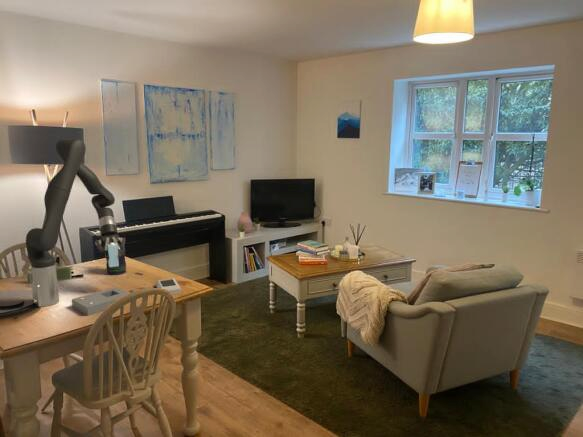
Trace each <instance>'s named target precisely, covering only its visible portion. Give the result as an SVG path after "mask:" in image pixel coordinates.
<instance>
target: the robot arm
mask: <svg viewBox="0 0 583 437" xmlns="http://www.w3.org/2000/svg"><path fill="white" fill-rule="evenodd" d="M55 150H56V153H57V155H58V156H59V157H60V159H62V161H64V163H63V165H62V167H61V169H59V171H58V172H57V173H56V174H55V175H54V176H53V177H52V178H51V179H50V181H49V183H48V184H47V187H46V191H45V194H44V199H43V200H44V208H45V214H46V215H45V220H44V224H43V226H42V228H40V227H34V228H32V229H30V230H28V232H27V233H26V236H25V246H26V252H27V259H28V261H29V263H30V264H31V265H30V266H31V270H32V276H33V283H31V291H32V299H33V298H34V299H35V300H37V302H38V306H39V307H38V306H37V307H38V308H40V307H47V306H48V307H49V306H53V305H55V304H58V303H59V302H60V296H59V286H58V281H57V273H56V268H57V263H56V262H57V261H56V258H55V256H53V255H52V254H51V253H50V252H49V251H51V250H54V249H55V247H56V245H57V243H58V239H59V236H60V231H61V225H62V222H63V221H62V220H63V218H64V214H65V210H66V207H67V204H68V201H69V199H70V197H71V196H70V195H71V192H72V188H73V185H74V182H75V179H76V177H78V178H79V180H80V181H81V182H82V184H83V186H84V188H85V189H86V190H87V192H88V193H89V194H90V195H93V196H92V198H91V200H90V201H91V204H92V206H93V208H94V209H95V211H96V214H97V216H98V225H99V227H98V228H99V232H100V233H99V234H100V239H99V240H98V239H95V242H94V244H95V246H96V248H97V249H98V251H99V252H100V254H101V253H104V257H105V259H106V261H107V260H109V254H108V248H107V245H108V244H110V243H114V244H117V245H118V243H119V242H120V243H122V245H121V247H119V245H118V259H119V258H120V257H121V252H120V251H121V250H123V249H124V244H126V237H125V236H124V237H121V236H119V233H118V228H117V223H116V220H115V215H114V212H113V209H112V208H110V206H112V205H114V204H115V202H116V200H115V196H114V195H113V193H112V192H111V191H109V190H108V189H107V188H106V187H105V186H104V185H103V184H102V182H101V180H99V177H98V176H97V175H96V173H95V172H94V171H92V170H91V169H90V168H89V167H88V166H87V165H85V164H84V163H83V160H84V158H85V155H86V144H85V142H84V141H83V140H82V139H79V138H67V137H66V138H60V139H59V140H58V141H57V142H56V143H55ZM103 245H104V248H103Z"/></svg>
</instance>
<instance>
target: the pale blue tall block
mask: <svg viewBox="0 0 583 437" xmlns="http://www.w3.org/2000/svg"><path fill="white" fill-rule="evenodd" d="M107 248H108V254H109V260H108V265H109V267H116V266H119V261H118V245H117V244H114V243H110V244H108V245H107Z"/></svg>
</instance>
